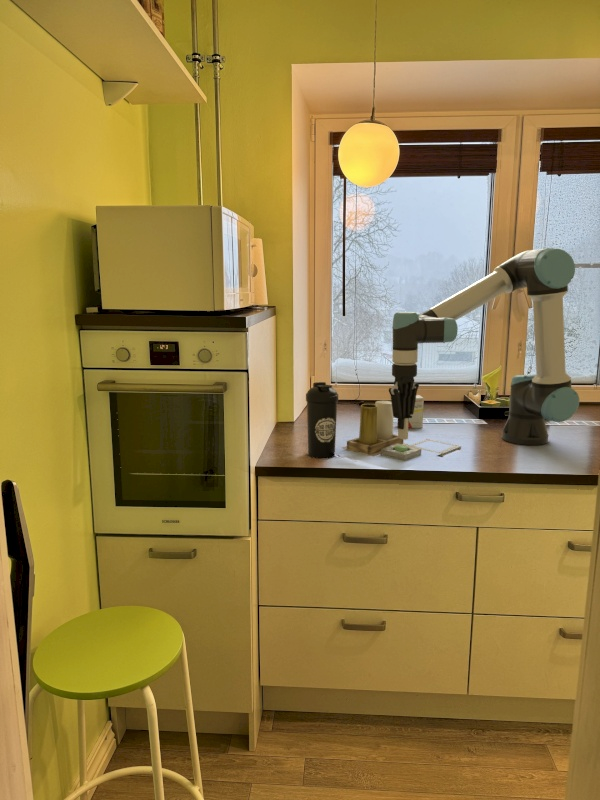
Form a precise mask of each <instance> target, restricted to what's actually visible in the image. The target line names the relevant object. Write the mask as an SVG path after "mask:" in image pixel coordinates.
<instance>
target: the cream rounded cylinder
mask: <svg viewBox="0 0 600 800" xmlns="http://www.w3.org/2000/svg"><path fill="white" fill-rule="evenodd" d="M374 405H377V439H381V440H389V439H393V434H394V416H393V410H392V402H391V401H390V400H377V401H375V404H374Z"/></svg>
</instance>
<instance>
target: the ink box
mask: <svg viewBox="0 0 600 800" xmlns="http://www.w3.org/2000/svg"><path fill="white" fill-rule="evenodd" d="M424 400H425V398H424V397H423V396H421V395H420V394H416V400H415V406H414V413H413V415H410V416H412V418H409V426H408V429H422V428H423V424H424V403H425V402H424ZM397 427H398V423H397Z"/></svg>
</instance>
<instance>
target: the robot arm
mask: <svg viewBox="0 0 600 800" xmlns="http://www.w3.org/2000/svg"><path fill="white" fill-rule="evenodd" d="M575 274H576V266H575V261H574V259H573V257H572V256H571V254H570V253H568V252H567V251H565V250H563V249H561V248H554V247H546V248H541V249H528V250H525V251H523V252H520V253H518V254H516V255H514V256H513V257H511V258H509V259H507V260H506V261H504V262H503V263H501V264H499V265H498V266H496V267H495V268H494V269H493V272H492V273H490V274H489V275H486V276H485V277H483V278H481V279H479V280H477V281H475V282H474V283H472V284H471V285H469V286H468V287H466V288H464V289H461V290H460V291H458V292H457V293H455V294H453V295H451V296H450V297H447V298H446V299H444V300H443V301H441V302H439V303H438V304H435V305H434V306H432V307H430V308H428V309H427V310H425V311H423V312H422V313H420V314H419V313H418V312H417V311H398V312H395V313H394V315H393V318H392V328H391V329H392V357H391V359H392V360H391V361H392V365H391V375H392V377H393V378H394V382H393V387H389V389H388V392H389V395H390V400H391V402H392V410H393V418H395V419H397V424H398V426H397V435H398V438H400V439H403V441H404V440H408V439H409V428H408V426H409V418H412V416H410V415H413V413H414V406H415V400H416V395H418V394H417V393H418V390H419V387H420V383H416V382H415V377H417V375H418V365H417V363H418V359H419V358H418V356H419V355H418V349H419V346H418V345H419V344H432V343H433V344H438V343H439V344H445V343H452V342H454V341H455V340H456V339H457V335H458V330H459V328H458V324H457V320H459V319H460V318H462V317H465V316H466V315H469V314H470V313H471V312H473V311H474V310H476V309H478V308H480V307H482V306H483V305H485V304H487V303H489V302H490V301H492V300H494V299H496V298H497V297H499V296H501V295H503V294H504V293H505V294H511V293H512V292H514V291H517V290H520V289H524V288H526V293H527V297H528V298H529V299H531V300H532V305H533V306H532V307H533V308H532V310H533V326H534V327H533V328H534V331H533V332H534V348H535V350H534V351H535V367H536V368H535V370H536V371H535V372H536V374H518V375H514V376H513V377H512V378H511V382H510V395H509V396H510V397H509V410H508V418H507V420H506V422H505V425H504V426H503V429H502V432H501V438H502V439H503V440H504V441H506V442H507V443H508V442H509V443H511V444H517V445H521V446H522V445H525V446H542V445H545V444H547V443H549V432H548V429H547V425H546V424H547V423H546V421H550V422H553V423H554V422H555V423H562V422H565V421H568V420H570V419H571V418H572V417H573V416H574V414H576V412H577V411H578V409H579V406H580V396H579V393H578V392H577V391H576V390H575V389H574V388H572V378H571V376H570V375H569V374H568V373H567V372H566V351H565V350H566V349H565V348H566V345H565V322H564V319H565V318H564V299H563V298H564V296H565V295H566V294H568V292H569V287H568V285H569V284H570V283H572V279H574V276H575ZM545 420H546V421H545Z"/></svg>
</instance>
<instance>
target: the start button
mask: <svg viewBox="0 0 600 800" xmlns="http://www.w3.org/2000/svg"><path fill="white" fill-rule="evenodd" d="M395 450H396V451H400V452H405V451H408V447H407V445H406V446H405V445H396V446H395Z"/></svg>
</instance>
